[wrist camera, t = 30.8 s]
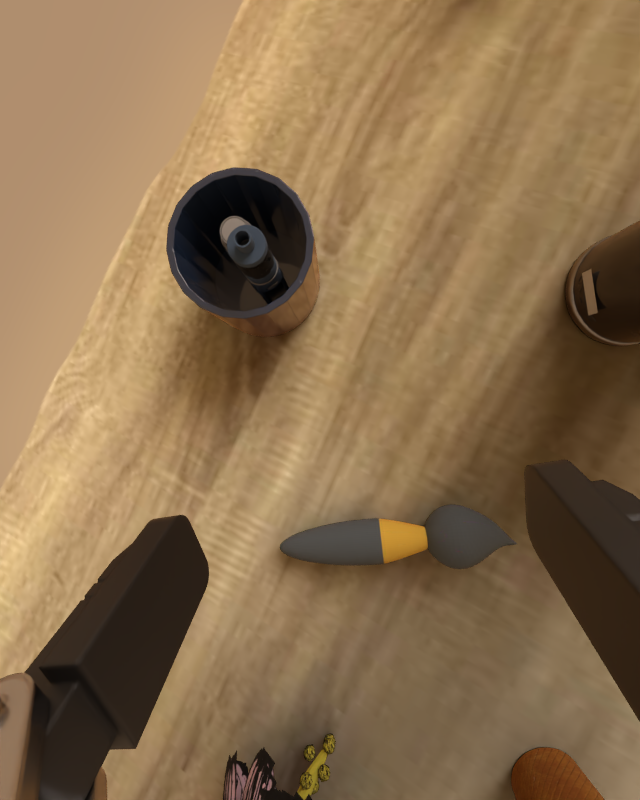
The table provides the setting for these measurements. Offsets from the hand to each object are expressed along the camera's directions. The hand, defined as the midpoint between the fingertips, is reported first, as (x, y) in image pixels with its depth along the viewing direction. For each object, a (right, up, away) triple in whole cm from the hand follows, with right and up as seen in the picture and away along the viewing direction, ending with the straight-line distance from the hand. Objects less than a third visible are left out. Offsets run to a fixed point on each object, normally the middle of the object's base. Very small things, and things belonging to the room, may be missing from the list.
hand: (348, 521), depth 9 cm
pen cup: (-6, +13, +24) cm, 28 cm away
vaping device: (-5, +13, +24) cm, 28 cm away
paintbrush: (+6, -10, +25) cm, 27 cm away
